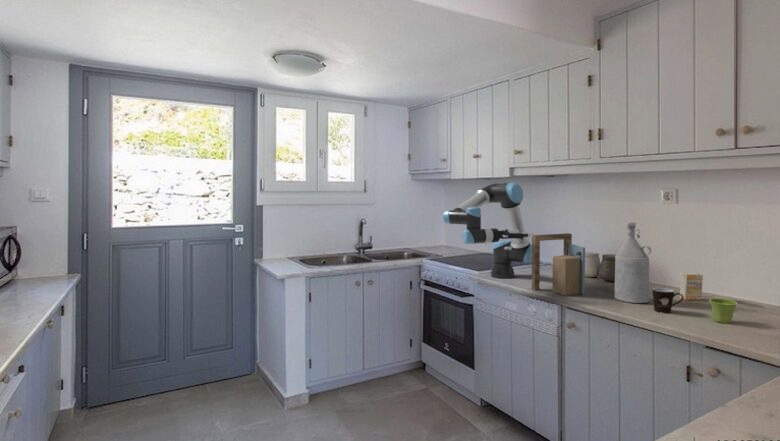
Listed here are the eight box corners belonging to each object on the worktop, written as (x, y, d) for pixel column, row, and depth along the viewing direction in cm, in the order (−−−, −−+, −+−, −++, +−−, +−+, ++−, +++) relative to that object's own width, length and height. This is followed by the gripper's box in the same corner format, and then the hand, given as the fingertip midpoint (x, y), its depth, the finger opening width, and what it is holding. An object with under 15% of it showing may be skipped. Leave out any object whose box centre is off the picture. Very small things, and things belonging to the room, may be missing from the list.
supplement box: (685, 300, 215) (686, 274, 214) (679, 298, 219) (680, 272, 218) (702, 300, 214) (703, 274, 213) (695, 297, 219) (696, 272, 218)
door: (564, 287, 245) (565, 243, 244) (569, 286, 246) (570, 243, 244) (579, 294, 229) (579, 247, 227) (584, 293, 229) (585, 247, 227)
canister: (641, 306, 206) (643, 224, 203) (608, 298, 221) (609, 221, 218) (656, 302, 212) (659, 222, 209) (623, 295, 227) (625, 220, 224)
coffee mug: (649, 311, 197) (649, 290, 197) (654, 307, 203) (654, 286, 203) (678, 316, 189) (679, 294, 188) (683, 312, 195) (684, 290, 194)
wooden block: (552, 292, 237) (552, 256, 235) (566, 290, 240) (567, 254, 239) (565, 296, 227) (565, 258, 226) (580, 294, 231) (580, 257, 229)
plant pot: (741, 325, 176) (742, 304, 175) (716, 324, 177) (717, 304, 177) (728, 318, 185) (728, 298, 184) (703, 317, 187) (704, 298, 186)
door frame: (531, 289, 244) (532, 235, 242) (567, 286, 250) (568, 233, 247) (534, 290, 241) (535, 235, 239) (571, 287, 247) (571, 233, 244)
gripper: (480, 239, 244) (513, 237, 249) (502, 245, 220) (538, 243, 225) (479, 226, 243) (513, 224, 249) (501, 230, 219) (538, 228, 224)
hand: (525, 233), depth 237 cm, fingers open, 13 cm apart
